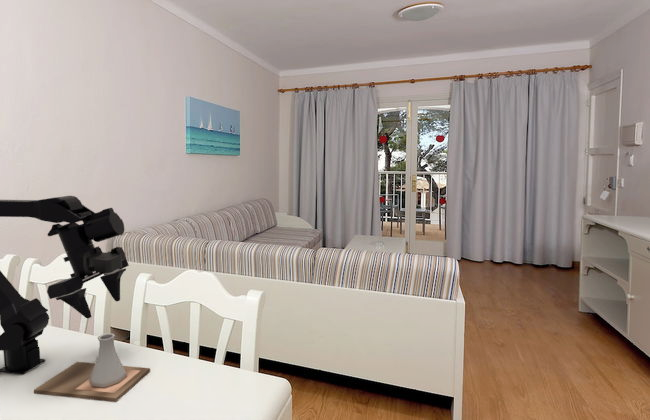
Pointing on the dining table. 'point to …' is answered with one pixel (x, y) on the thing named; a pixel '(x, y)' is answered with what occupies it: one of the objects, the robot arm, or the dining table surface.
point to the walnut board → (78, 384)
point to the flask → (107, 364)
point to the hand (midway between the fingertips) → (104, 309)
